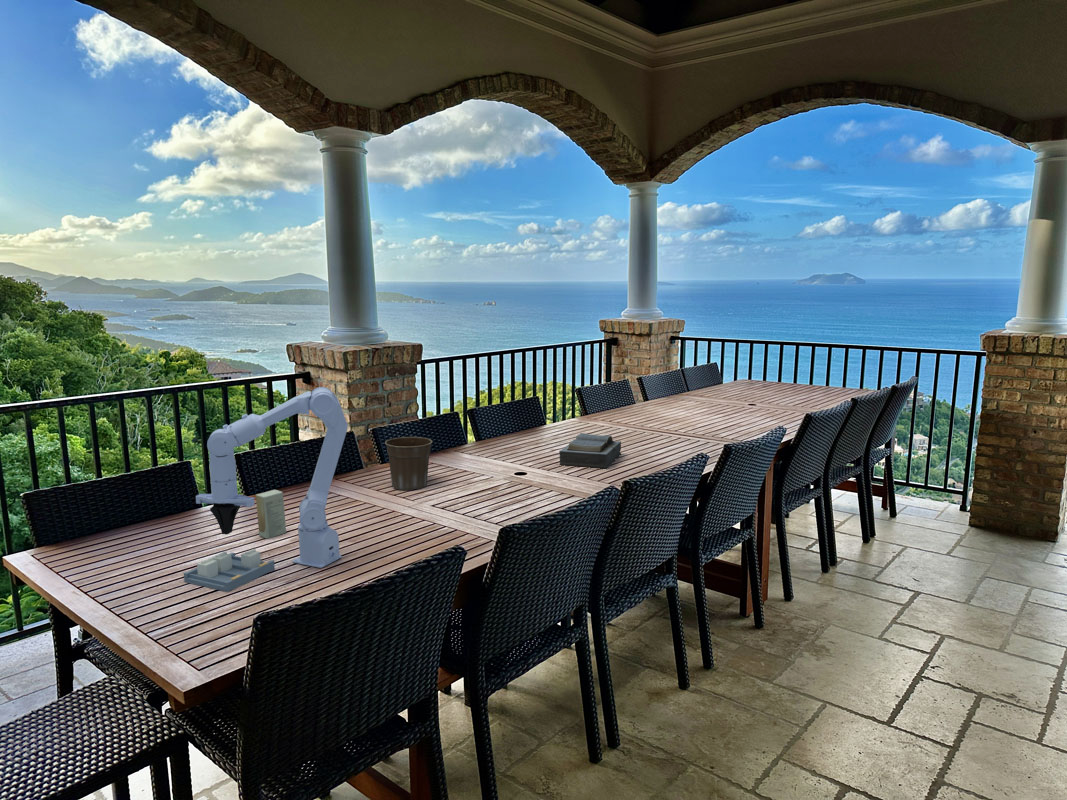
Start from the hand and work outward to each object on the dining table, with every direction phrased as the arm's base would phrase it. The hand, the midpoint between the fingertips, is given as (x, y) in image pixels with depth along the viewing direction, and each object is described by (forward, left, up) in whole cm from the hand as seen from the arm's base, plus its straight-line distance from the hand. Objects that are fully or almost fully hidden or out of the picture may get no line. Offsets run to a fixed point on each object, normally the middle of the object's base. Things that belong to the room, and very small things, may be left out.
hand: (227, 533), depth 171 cm
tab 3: (-5, -2, -9) cm, 10 cm away
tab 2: (0, +2, -9) cm, 9 cm away
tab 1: (0, +7, -9) cm, 11 cm away
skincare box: (+9, -24, -10) cm, 27 cm away
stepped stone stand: (-45, -141, -10) cm, 148 cm away
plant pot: (+1, -81, -10) cm, 81 cm away
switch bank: (-3, +2, -10) cm, 10 cm away
